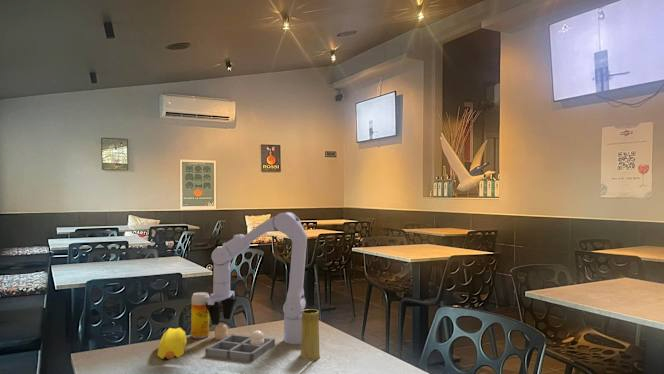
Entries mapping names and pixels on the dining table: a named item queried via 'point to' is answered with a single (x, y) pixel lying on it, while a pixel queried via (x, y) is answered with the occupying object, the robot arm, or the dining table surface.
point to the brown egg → (221, 331)
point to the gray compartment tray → (238, 348)
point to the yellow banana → (172, 343)
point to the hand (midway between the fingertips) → (221, 321)
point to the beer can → (200, 315)
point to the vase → (310, 334)
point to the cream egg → (257, 338)
